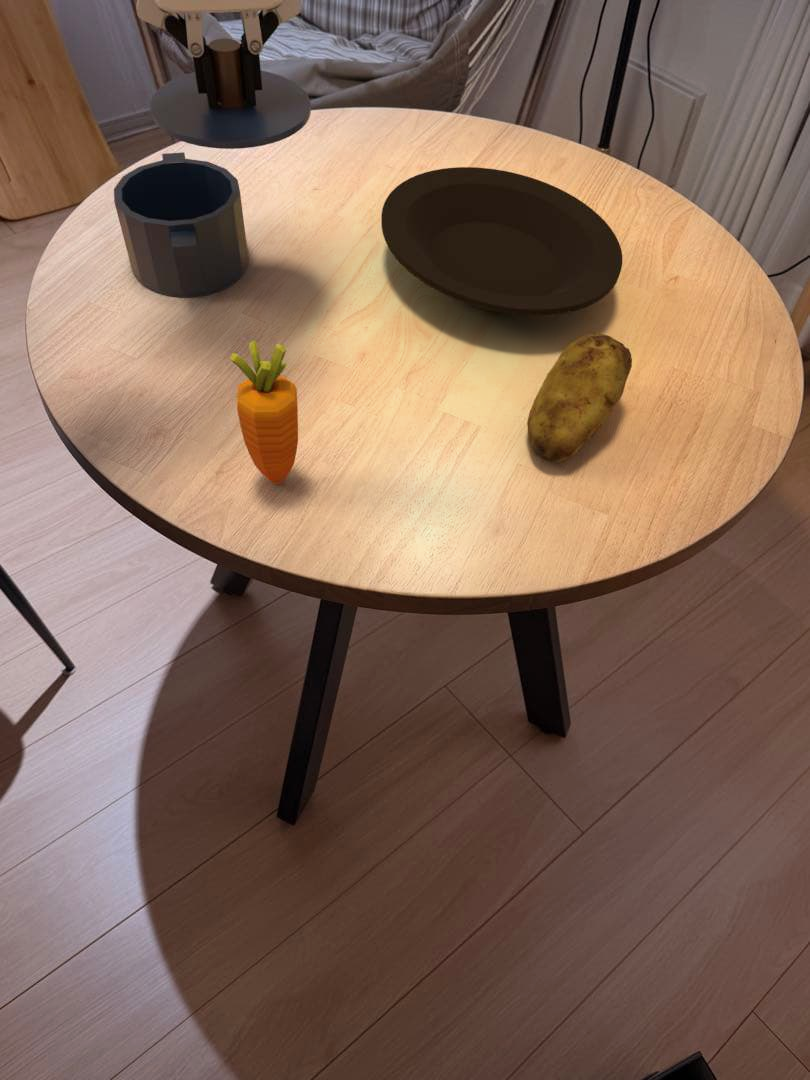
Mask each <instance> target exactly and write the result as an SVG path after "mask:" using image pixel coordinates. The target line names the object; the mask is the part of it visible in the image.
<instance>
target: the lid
mask: <svg viewBox="0 0 810 1080" xmlns="http://www.w3.org/2000/svg"><path fill="white" fill-rule="evenodd" d="M240 44H241V42H239V41H237V40H236V39H233V38H216V39H213V40H211V41H210V42H209V43H208V44H207V45H208V46H209V52H210V55H211V59H212V66H213V74H214V82H215V89H216V97H217V104H218V106H215V107H216V108H209V104H208V99H207V94H206V93H203V94H199V93H198V88H197V82H196V75H195V71H193V72H189V73H185V74H183V75H180V76H177V77H175V78H173V79H171V80H168V82H165V83H164V84H163V85H161V86H160V87H158V89H157V90H156V91H155V92H154V94H153V95H152V97H151V100H150V103H149V104H150V108H149V109H150V113H151V117H152V121H153V122H154V123H155V125H156V126H157V127H158V128H159V129H160V131H162V132H164V133H165V134H167V135H168V136H170V137H171V138H173V139H175V140H178V141H180V142H183V143H186V144H190V145H194V146H197V147H203V148H211V149H222V150H237V149H238V150H239V149H251V148H258V147H262V146H266V145H270V144H271V145H272V144H274V143H277V142H280V141H283V140H286V139H287V138H290V137H291V136H293V135H295V134H296V133H298V132H300V131H301V130H302V129H303V128H304V127H305V126H306V125H307V123H308V121H309V120H310V117H311V114H312V105H311V99H310V97H309V94H308V93H307V92H306V90H305V89H304V88H303V87H302V86H301V85H299V84H298V83H296V82H295V81H293V80H291V79H289V78H287V77H285V76H282V75H280V74H277V73H273V72H269V71H266V70H261V79H262V90H256V91H255V96H256V106H250V104H247V100H246V93H245V83H244V73H243V64H242V54H241V45H240Z"/></svg>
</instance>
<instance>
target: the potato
mask: <svg viewBox="0 0 810 1080" xmlns="http://www.w3.org/2000/svg"><path fill="white" fill-rule="evenodd" d="M632 368H633V358H632V353H631V351H630V348H628V347H626V346H625V344H624V343H622V342H620V341H619V340H617V339H615V338H613V337H612V336H610V335H607V334H598V333H588V334H585V335H582V336H581V337H579V338H576V339H575V340H574V341H572V342H571V343H570V344H569V345H568V346H567V347H566V348H565V349H564V350H563V351H562V352H561V353H560V355H559V356H558V357H557V360H556V361H555V362H554V364H553V365H552V367H551V369H550V370H549V371H548V372H547V374H546V376H545V379H544V381H543V382H542V384H541V386H540V387H539V390H538V392H537V394H536V396H535V398H534V400H533V403H532V405H531V407H530V410H529V413H528V417H527V424H526V427H527V434H528V439H529V443H530V447H531V449H532V451H533V454H534V455H536V456H537V457H539V458H540V459H542V460H543V461H545V462H548V463H560V462H563V461H565V460H568V459H571V457H573V456H575V455H576V454H577V453H578V452H580V449H581V447H582V446H583V444H584V443H586V442H587V441H588V440H589V439H591V438H592V437H594V436H595V434H596V433H597V431H598V430H599V429H600V428H602V426H603V423H604V422H605V421H606V419H607V418H608V416H609V415H610V414H611V413H612V412H613V410H614V409H615V407H616V405H617V404H618V403H619V401H620V399H621V398H622V396H623V395H624V391H625V387H626V383H627V380H628V378H629V375H630V373H631V370H632Z"/></svg>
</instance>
